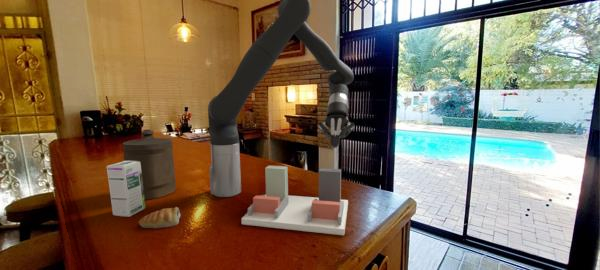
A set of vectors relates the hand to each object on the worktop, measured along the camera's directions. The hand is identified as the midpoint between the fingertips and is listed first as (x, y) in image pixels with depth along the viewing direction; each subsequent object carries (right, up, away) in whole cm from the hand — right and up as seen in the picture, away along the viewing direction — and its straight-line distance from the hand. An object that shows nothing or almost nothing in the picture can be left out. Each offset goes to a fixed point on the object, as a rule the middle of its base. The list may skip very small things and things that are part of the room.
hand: (334, 146), depth 85 cm
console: (-12, -18, -13) cm, 25 cm away
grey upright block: (-3, -16, -11) cm, 19 cm away
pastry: (-47, -20, -18) cm, 54 cm away
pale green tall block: (-18, -16, -7) cm, 25 cm away
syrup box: (-60, -19, -11) cm, 64 cm away
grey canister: (-63, -17, +5) cm, 65 cm away
